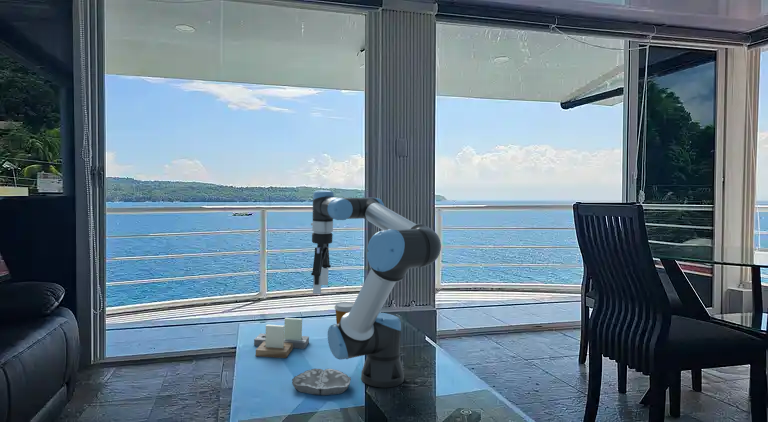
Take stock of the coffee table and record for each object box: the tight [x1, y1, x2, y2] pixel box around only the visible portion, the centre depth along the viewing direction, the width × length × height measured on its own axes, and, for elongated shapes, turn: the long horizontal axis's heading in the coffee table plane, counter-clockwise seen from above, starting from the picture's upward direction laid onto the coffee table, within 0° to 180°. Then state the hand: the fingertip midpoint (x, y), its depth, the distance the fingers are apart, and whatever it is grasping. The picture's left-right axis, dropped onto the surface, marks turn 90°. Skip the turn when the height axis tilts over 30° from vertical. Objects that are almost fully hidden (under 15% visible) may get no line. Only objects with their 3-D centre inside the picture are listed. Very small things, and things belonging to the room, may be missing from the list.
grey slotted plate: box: [253, 332, 310, 350], centre depth 217 cm, size 8×21×2 cm, turn 85°
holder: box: [255, 341, 294, 359], centre depth 207 cm, size 10×12×2 cm
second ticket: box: [283, 317, 303, 340], centre depth 216 cm, size 2×7×11 cm, turn 85°
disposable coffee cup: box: [334, 301, 354, 324], centre depth 238 cm, size 10×10×12 cm
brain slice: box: [291, 368, 352, 396], centre depth 177 cm, size 20×17×3 cm
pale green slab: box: [265, 324, 285, 348], centre depth 206 cm, size 2×7×11 cm, turn 85°
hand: (320, 289), depth 194 cm, fingers open, 13 cm apart
